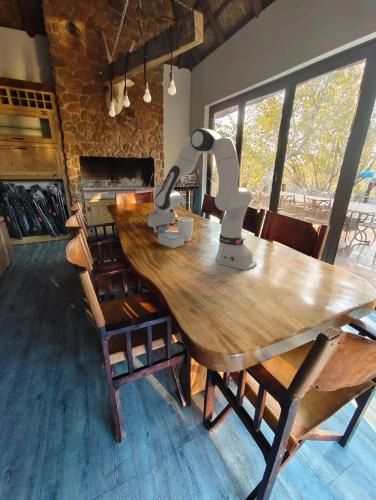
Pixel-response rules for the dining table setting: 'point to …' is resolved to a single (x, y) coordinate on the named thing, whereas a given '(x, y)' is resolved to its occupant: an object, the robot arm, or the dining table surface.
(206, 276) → the dining table surface
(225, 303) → the dining table surface
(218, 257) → the robot arm
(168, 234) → the lid
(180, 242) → the tub
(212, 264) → the dining table surface
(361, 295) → the dining table surface
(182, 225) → the jar
